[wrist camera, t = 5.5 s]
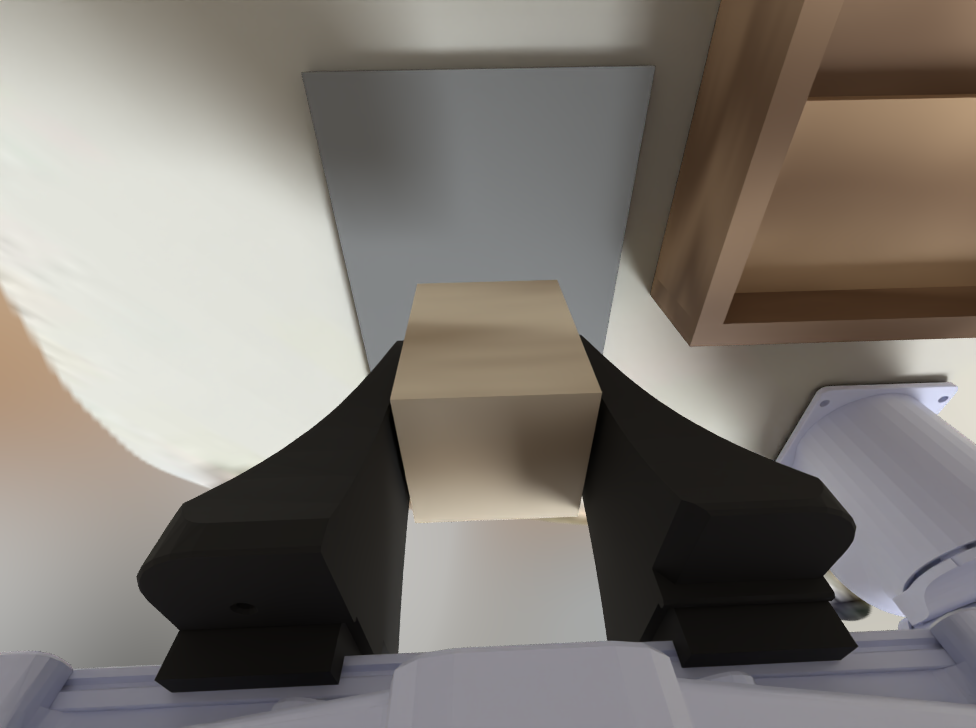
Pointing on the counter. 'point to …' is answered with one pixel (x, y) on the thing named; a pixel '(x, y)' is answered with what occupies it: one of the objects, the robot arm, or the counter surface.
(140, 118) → the counter surface
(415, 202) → the grey mat
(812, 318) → the walnut crate
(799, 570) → the robot arm
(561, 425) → the birch block
